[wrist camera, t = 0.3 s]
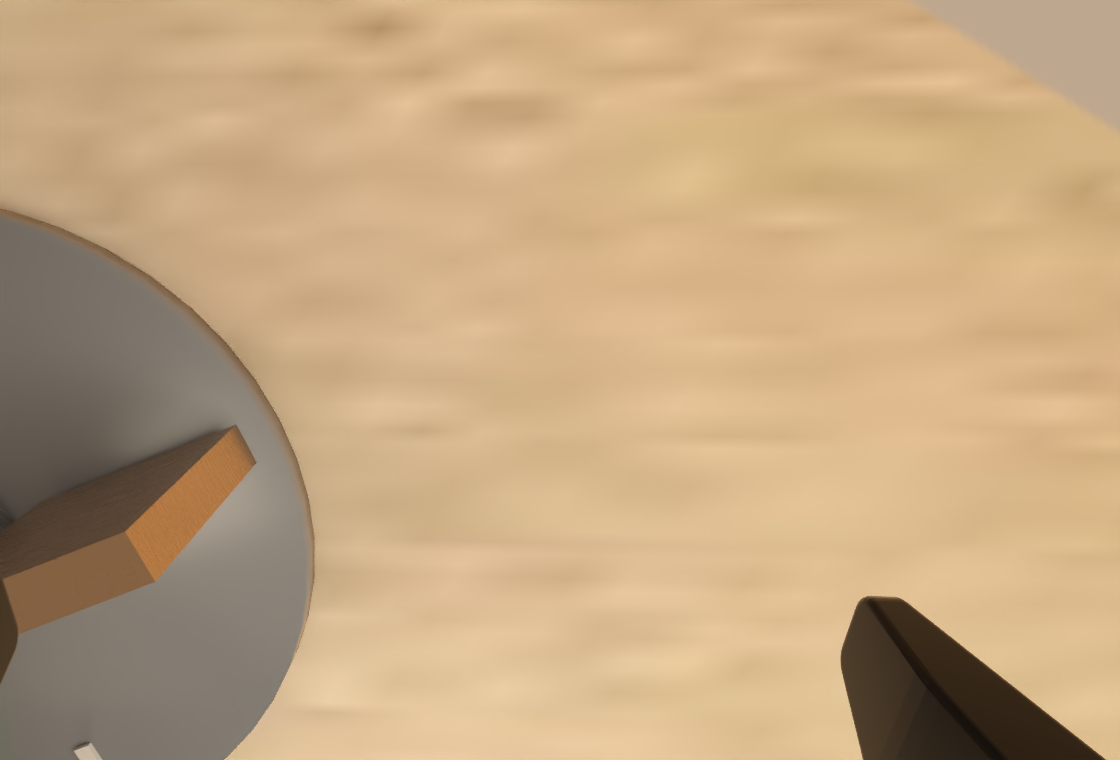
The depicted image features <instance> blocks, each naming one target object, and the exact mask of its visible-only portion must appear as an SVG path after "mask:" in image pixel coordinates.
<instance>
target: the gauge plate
mask: <svg viewBox="0 0 1120 760" xmlns="http://www.w3.org/2000/svg"><path fill="white" fill-rule="evenodd" d="M233 425H237V426H238V428H239V430H240V432H241V434H242V436H243V438H244V439H245V441H246V443H247V445H248V447H249V449H250V451H251V452H252V454H253V456H254V458H255V460H256V462H257V463H256V464H255V465H254V467H253V468H252V469H251V470H250V471H249V472H248V474H247V475H246V476H245V477H244V478H243V479H242V481H241V482H240V483H239V484H238V485H237V487H236V488H235V489H234V490H233V491H232V492H231V494H230V495H229V496H228V497H227V498H226V499H225V501H224V502H223V503H222V504H221V505H220V506H219V508H218V509H217V510H216V511H215V512H214V514H213V515H212V516H211V517H210V518H209V519H208V521H207V522H206V523H205V524H204V525H203V526H202V528H201V529H200V530H199V531H198V532H197V534H196V535H195V536H194V537H193V538H192V539H191V541H190V542H189V543H188V544H187V545H186V546H185V548H184V549H183V550H182V551H181V552H180V553H179V555H178V556H177V557H176V558H175V559H174V561H173V562H172V563H171V564H170V565H169V566H168V568H167V569H166V570H165V571H164V572H163V573H162V575H161V576H160V577H159V578H158V579H157V581H156V582H154V583H151V584H148V585H146V586H143V587H141V588H138V589H135V590H133V591H130V592H128V593H125V594H122V595H120V596H117V597H115V598H112V599H109V600H107V601H104V602H102V603H99V604H96V605H94V606H91V607H89V608H86V609H83V610H81V611H78V612H76V613H73V614H70V615H68V616H65V617H62V618H60V619H57V620H55V621H52V622H49V623H47V624H44V625H42V626H39V627H36V628H34V629H31V630H29V631H26V632H23V633H21V634H19V635H18V643H17V647H16V650H15V653H14V655H13V658H12V660H11V662H10V664H9V667H8V669H7V671H6V674H5V676H4V678H3V681H2V683H1V685H0V760H224V759H225V758H226V757H228V756H229V754H230V753H231V752H232V751H233V750H234V749H235V748H236V747H237V746H238V745H239V744H240V743H241V742H242V741H243V740H244V739H245V737H246V736H247V735H248V734H249V733H250V732H251V731H252V730H253V728H254V727H255V726H256V724H257V723H258V721H259V720H260V718H261V717H262V716H263V714H264V713H265V711H266V710H267V708H268V707H269V706H270V704H271V703H272V701H273V699H274V697H275V695H276V693H277V691H278V689H279V687H280V685H281V683H282V681H283V679H284V677H285V675H286V673H287V671H288V669H289V667H290V665H291V662H292V660H293V658H294V656H295V654H296V651H297V649H298V647H299V643H300V640H301V637H302V634H303V631H304V627H305V624H306V621H307V618H308V615H309V609H310V602H311V596H312V589H313V583H314V533H313V526H312V519H311V512H310V505H309V499H308V495H307V492H306V488H305V485H304V481H303V478H302V475H301V471H300V468H299V464H298V461H297V458H296V456H295V453H294V451H293V449H292V447H291V444H290V442H289V440H288V438H287V435H286V433H285V431H284V429H283V426H282V424H281V422H280V420H279V418H278V416H277V415H276V413H275V411H274V410H273V408H272V406H271V405H270V403H269V401H268V400H267V398H266V396H265V395H264V393H263V392H262V390H261V388H260V387H259V385H258V383H257V382H256V380H255V379H254V378H253V376H252V375H251V374H250V372H249V371H248V370H247V369H246V367H245V366H244V365H243V364H242V362H241V361H240V360H239V359H238V357H237V356H236V355H235V353H234V352H233V351H232V350H231V348H230V347H229V346H228V345H227V343H226V342H225V341H224V340H223V339H222V338H221V337H220V336H219V335H218V334H217V333H216V332H215V331H214V330H213V329H212V328H211V327H210V326H209V325H208V324H207V323H206V322H205V321H204V320H203V319H202V318H201V317H200V316H199V315H198V314H197V313H196V312H195V311H194V310H193V309H192V308H190V307H189V306H188V305H186V304H185V303H184V302H183V301H181V300H180V299H179V298H178V297H176V296H175V295H174V294H172V293H171V292H170V291H169V290H167V289H166V288H165V287H164V286H162V285H161V284H160V283H158V282H157V281H156V280H155V279H153V278H152V277H151V276H149V275H147V274H146V273H144V272H142V271H141V270H139V269H138V268H136V267H134V266H133V265H131V264H129V263H128V262H126V261H125V260H123V259H121V258H120V257H118V256H116V255H115V254H113V253H112V252H110V251H108V250H106V249H104V248H102V247H100V246H98V245H96V244H94V243H91V242H89V241H87V240H85V239H83V238H81V237H79V236H76V235H74V234H72V233H70V232H68V231H66V230H64V229H61V228H59V227H56V226H53V225H50V224H47V223H44V222H41V221H38V220H35V219H32V218H29V217H26V216H23V215H20V214H17V213H14V212H11V211H6V210H1V209H0V510H1V511H2V512H3V513H5V514H6V515H7V517H8V518H9V519H10V520H11V521H12V522H14V521H15V520H17V519H18V518H19V517H21V516H22V515H23V514H25V513H26V512H28V511H29V510H30V509H32V508H33V507H34V506H36V505H37V504H38V503H40V502H41V501H44V500H46V499H49V498H52V497H54V496H57V495H59V494H62V493H64V492H67V491H69V490H72V489H74V488H77V487H79V486H82V485H84V484H87V483H89V482H92V481H94V480H97V479H100V478H102V477H105V476H107V475H110V474H112V473H115V472H117V471H120V470H122V469H125V468H127V467H130V466H132V465H135V464H137V463H140V462H142V461H145V460H148V459H150V458H153V457H155V456H158V455H160V454H163V453H165V452H168V451H170V450H173V449H175V448H178V447H180V446H183V445H185V444H188V443H190V442H193V441H196V440H198V439H201V438H203V437H206V436H208V435H211V434H213V433H216V432H218V431H221V430H223V429H226V428H228V427H231V426H233Z"/></svg>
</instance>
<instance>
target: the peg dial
mask: <svg viewBox="0 0 1120 760" xmlns="http://www.w3.org/2000/svg"><path fill="white" fill-rule="evenodd" d="M256 463H257V462H256V460H255V458H254V456H253V454H252V452H251V451H250V449H249V447H248V445H247V443H246V441H245V439H244V438H243V436H242V434H241V432H240V430H239V428H238V426H237V425H233V426H231V427H228V428H226V429H223V430H221V431H218V432H216V433H213V434H211V435H208V436H206V437H203V438H201V439H198V440H196V441H193V442H190V443H188V444H185V445H183V446H180V447H178V448H175V449H173V450H170V451H168V452H165V453H163V454H160V455H158V456H155V457H153V458H150V459H148V460H145V461H142V462H140V463H137V464H135V465H132V466H130V467H127V468H125V469H122V470H120V471H117V472H115V473H112V474H110V475H107V476H105V477H102V478H100V479H97V480H94V481H92V482H89V483H87V484H84V485H82V486H79V487H77V488H74V489H72V490H69V491H67V492H64V493H62V494H59V495H57V496H54V497H52V498H49V499H46V500H44V501H41V502H40V503H38V504H37V505H36V506H34V507H33V508H32V509H30V510H29V511H28V512H26V513H25V514H23V515H22V516H21V517H19V518H18V519H17V520H15V521H14V522H12V521H11V520H10V519H9V518H8V517H7V515H6V514H5V513H3V512H2V511H1V510H0V575H1V576H2V578H3V581H4V584H5V587H6V590H7V593H8V596H9V599H10V602H11V605H12V609H13V612H14V615H15V618H16V621H17V624H18V634H21V633H23V632H26V631H29V630H31V629H34V628H36V627H39V626H42V625H44V624H47V623H49V622H52V621H55V620H57V619H60V618H62V617H65V616H68V615H70V614H73V613H76V612H78V611H81V610H83V609H86V608H89V607H91V606H94V605H96V604H99V603H102V602H104V601H107V600H109V599H112V598H115V597H117V596H120V595H122V594H125V593H128V592H130V591H133V590H135V589H138V588H141V587H143V586H146V585H148V584H151V583H154V582H156V581H157V579H158V578H159V577H160V576H161V575H162V573H163V572H164V571H165V570H166V569H167V568H168V566H169V565H170V564H171V563H172V562H173V561H174V559H175V558H176V557H177V556H178V555H179V553H180V552H181V551H182V550H183V549H184V548H185V546H186V545H187V544H188V543H189V542H190V541H191V539H192V538H193V537H194V536H195V535H196V534H197V532H198V531H199V530H200V529H201V528H202V526H203V525H204V524H205V523H206V522H207V521H208V519H209V518H210V517H211V516H212V515H213V514H214V512H215V511H216V510H217V509H218V508H219V506H220V505H221V504H222V503H223V502H224V501H225V499H226V498H227V497H228V496H229V495H230V494H231V492H232V491H233V490H234V489H235V488H236V487H237V485H238V484H239V483H240V482H241V481H242V479H243V478H244V477H245V476H246V475H247V474H248V472H249V471H250V470H251V469H252V468H253V467H254V465H255V464H256Z"/></svg>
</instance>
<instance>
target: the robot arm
mask: <svg viewBox="0 0 1120 760" xmlns="http://www.w3.org/2000/svg"><path fill="white" fill-rule="evenodd" d="M18 635H19V634H18V624H17V621H16V618H15V615H14V612H13V609H12V605H11V602H10V599H9V596H8V593H7V590H6V587H5V584H4V581H3V578H2V576H1V575H0V685H1V683H2V681H3V678H4V676H5V674H6V671H7V669H8V667H9V664H10V662H11V660H12V658H13V655H14V653H15V650H16V647H17V643H18ZM841 669H842V674H843V678H844V682H845V687H846V691H847V695H848V699H849V703H850V707H851V711H852V716H853V720H854V724H855V728H856V732H857V736H858V740H859V745H860V749H861V753H862V757H863V760H1106V759H1104V758H1103V757H1102V756H1101V755H1099V754H1098V753H1097V752H1096V751H1094V750H1093V749H1092V748H1090V747H1089V746H1088V745H1087V744H1085V743H1084V742H1083V741H1082V740H1080V739H1079V738H1078V737H1077V736H1075V735H1074V734H1073V733H1071V732H1070V731H1069V730H1068V729H1066V728H1065V727H1064V726H1063V725H1061V724H1060V723H1059V722H1058V721H1056V720H1055V719H1054V718H1053V717H1051V716H1050V715H1049V714H1047V713H1046V712H1045V711H1044V710H1042V709H1041V708H1040V707H1039V706H1037V705H1036V704H1035V703H1034V702H1032V701H1031V700H1030V699H1028V698H1027V697H1026V696H1025V695H1023V694H1022V693H1021V692H1020V691H1018V690H1017V689H1016V688H1015V687H1013V686H1012V685H1011V684H1009V683H1008V682H1007V681H1006V680H1004V679H1003V678H1002V677H1001V676H999V675H998V674H997V673H996V672H994V671H993V670H992V669H990V668H989V667H988V666H987V665H985V664H984V663H983V662H982V661H980V660H979V659H978V658H977V657H975V656H974V655H973V654H972V653H970V652H969V651H968V650H966V649H965V648H964V647H963V646H961V645H960V644H959V643H958V642H956V641H955V640H954V639H953V638H951V637H950V636H949V635H947V634H946V633H945V632H944V631H942V630H941V629H940V628H939V627H937V626H936V625H935V624H934V623H932V622H931V621H930V620H928V619H927V618H926V617H925V616H923V615H922V614H921V613H920V612H918V611H917V610H916V609H915V608H913V607H912V606H911V605H910V604H908V603H907V602H905V601H904V600H902V599H900V598H897V597H881V596H867V597H864V598H862V599H861V600H860V601H859V602H858V604H857V606H856V609H855V612H854V615H853V618H852V620H851V623H850V626H849V629H848V632H847V635H846V638H845V641H844V643H843V646H842V650H841Z"/></svg>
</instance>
